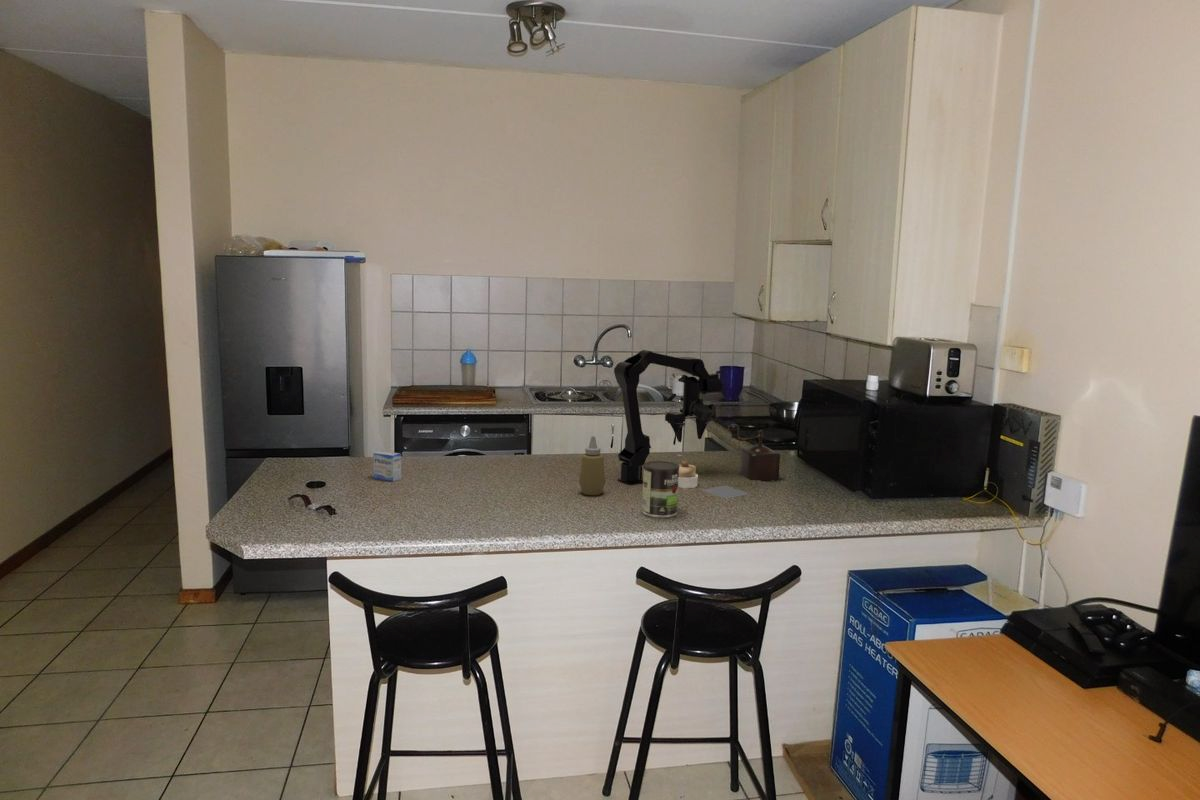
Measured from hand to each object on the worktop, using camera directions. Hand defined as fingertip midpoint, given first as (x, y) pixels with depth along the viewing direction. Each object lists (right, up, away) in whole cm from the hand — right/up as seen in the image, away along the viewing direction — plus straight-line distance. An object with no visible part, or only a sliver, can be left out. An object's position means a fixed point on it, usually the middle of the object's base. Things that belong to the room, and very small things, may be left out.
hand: (689, 440), depth 269 cm
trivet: (+9, -16, -20) cm, 27 cm away
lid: (-3, -10, -13) cm, 17 cm away
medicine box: (-99, -12, -12) cm, 101 cm away
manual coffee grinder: (+21, -13, +1) cm, 25 cm away
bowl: (-3, -14, -12) cm, 19 cm away
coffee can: (-13, -19, -40) cm, 46 cm away
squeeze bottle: (-33, -15, -23) cm, 43 cm away
